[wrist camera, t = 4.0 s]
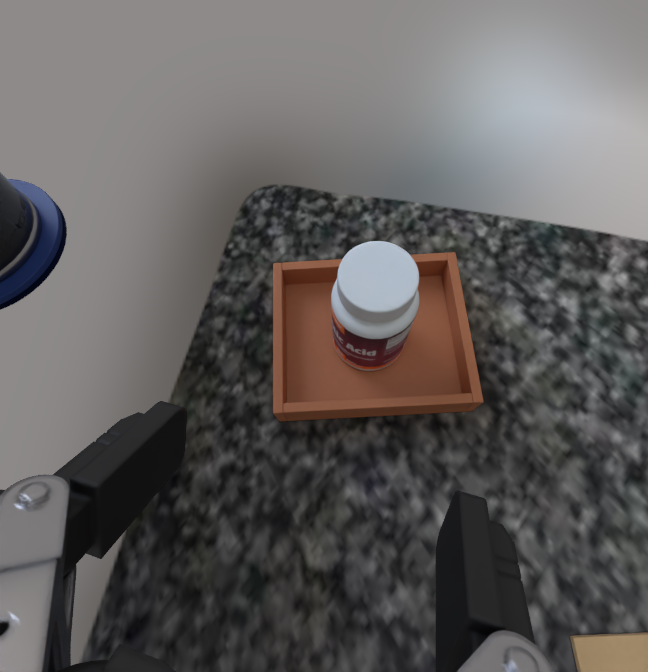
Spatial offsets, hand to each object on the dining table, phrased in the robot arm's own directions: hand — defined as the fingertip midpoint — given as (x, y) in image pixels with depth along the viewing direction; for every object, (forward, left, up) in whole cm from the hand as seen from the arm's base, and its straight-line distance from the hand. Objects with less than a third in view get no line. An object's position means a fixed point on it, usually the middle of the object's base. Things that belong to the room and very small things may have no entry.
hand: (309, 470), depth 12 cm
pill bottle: (+3, +9, -14) cm, 17 cm away
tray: (+3, +9, -14) cm, 17 cm away
